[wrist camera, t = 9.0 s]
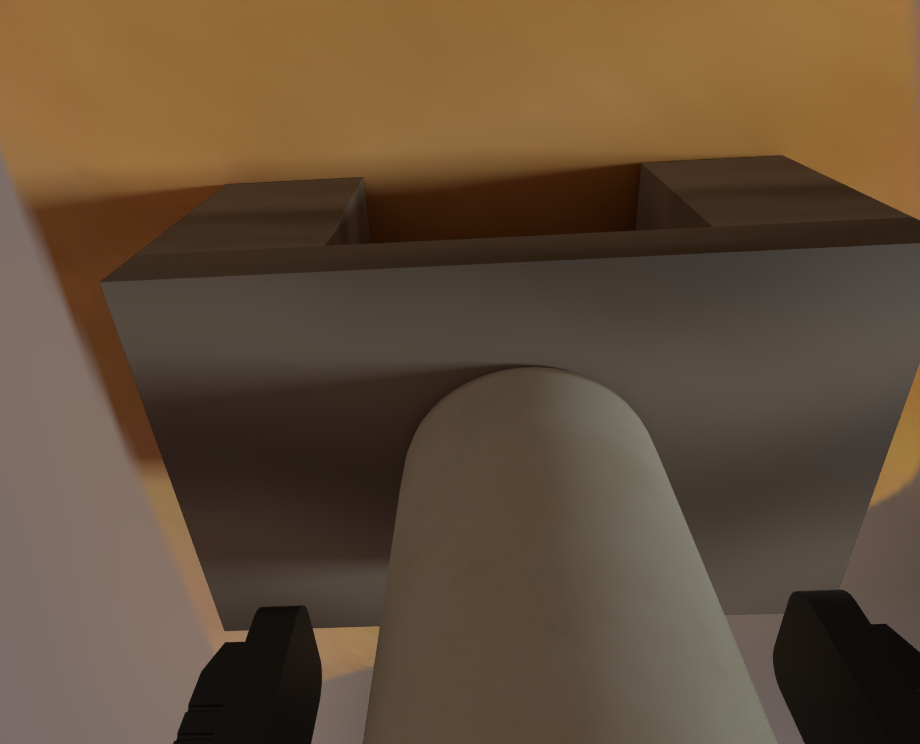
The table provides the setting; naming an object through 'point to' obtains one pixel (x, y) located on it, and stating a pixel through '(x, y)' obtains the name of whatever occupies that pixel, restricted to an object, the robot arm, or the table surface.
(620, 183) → the table surface
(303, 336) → the bridge
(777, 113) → the table surface
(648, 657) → the candle
